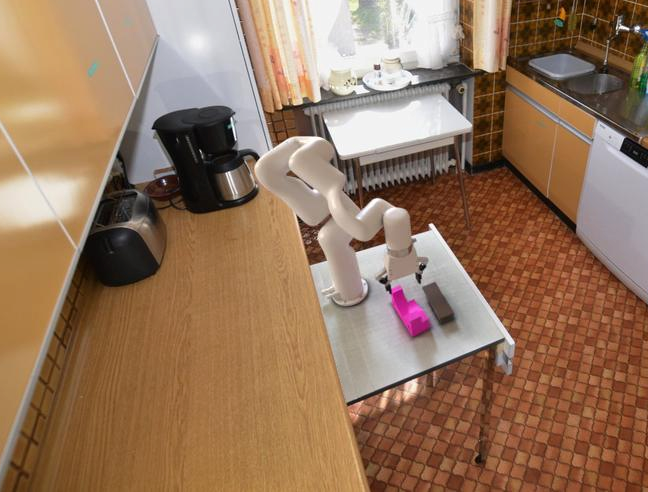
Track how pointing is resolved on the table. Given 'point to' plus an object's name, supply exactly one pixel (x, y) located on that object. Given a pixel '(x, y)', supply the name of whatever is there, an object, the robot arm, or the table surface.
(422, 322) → the toy block
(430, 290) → the brown rectangular block
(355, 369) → the table surface
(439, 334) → the table surface
